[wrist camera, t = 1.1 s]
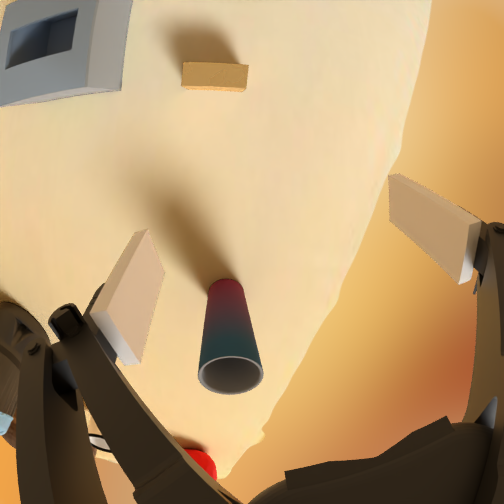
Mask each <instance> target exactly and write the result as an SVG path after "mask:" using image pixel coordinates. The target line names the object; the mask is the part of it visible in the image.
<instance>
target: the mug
mask: <svg viewBox="0 0 504 504" xmlns="http://www.w3.org/2000/svg"><path fill="white" fill-rule="evenodd" d="M88 433H89V438H90V442H91V446H92V447H94V448H96V449H99V450H101V451H105V452H109V453H112V452H111V450H110V448H109V447H108V445H107V443H106V441H105V440H104V438H103V436H102V434H101V433H100V431H99V429H98V427H97V425H96V423H95V421H94V419H93V417H92V416H91V419H90V423H89V427H88Z"/></svg>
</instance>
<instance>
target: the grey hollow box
mask: <svg viewBox="0 0 504 504" xmlns="http://www.w3.org/2000/svg"><path fill="white" fill-rule="evenodd" d="M132 2H133V1H132V0H17V1H15V2H13V3H11V4H9V5H7V6H6V9H5V13H4V17H3V21H2V26H1V30H0V107H6V106H14V105H21V104H30V103H40V102H45V101H50V100H55V99H60V98H66V97H72V96H78V95H85V94H93V93H101V92H110V91H121V85H122V73H123V62H124V53H125V45H126V38H127V31H128V24H129V18H130V12H131V7H132Z"/></svg>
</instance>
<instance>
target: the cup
mask: <svg viewBox="0 0 504 504" xmlns="http://www.w3.org/2000/svg"><path fill="white" fill-rule="evenodd" d="M263 374H264V373H263V369H262V365H261V361H260V357H259V353H258V349H257V345H256V340H255V336H254V332H253V328H252V324H251V320H250V316H249V312H248V307H247V303H246V299H245V295H244V291H243V288H242V286H241V285H240V284H239V283H238V282H236V281H235V280H232V279H221V280H218V281H216V282H215V283H213V284H212V285H211V287H210V289H209V293H208V300H207V307H206V314H205V322H204V329H203V337H202V345H201V353H200V361H199V370H198V379H199V381H200V383H201V384H202V385H203V386H204V387H205V388H206V389H208V390H210V391H212V392H215V393H219V394H226V395H233V394H240V393H244V392H247V391H250V390H252V389H253V388H255V387H256V386H257V385H259V383H260V382H261V381H262V379H263Z"/></svg>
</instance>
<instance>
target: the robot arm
mask: <svg viewBox="0 0 504 504" xmlns="http://www.w3.org/2000/svg"><path fill="white" fill-rule="evenodd" d="M388 180H389V213H390V214H389V215H390V222H392V223H393V224H394V225H395V226H396V227H398V229H400V230H401V231H402V232H403V233H404V234H405V235H407V236H408V237H409V238H410V239H411V240H412V241H414V243H416V244H417V245H418V246H419V247H420V248H421V249H422V250H423V251H424V252H425V253H426V254H428V255H429V256H430V257H431V258H432V259H433V260H434V261H435V262H436V263H437V264H438V265H439V266H440V267H441V268H442V269H443V270H444V271H445V272H446V273H447V274H448V275H449V276H451V278H453V280H455V282H456V283H457V284H458V285H459V284H461V283H464V282H466V281H469V280H471V275H472V271H473V267H474V268H475V269H476V270H477V271H478V272H479V273H478V277H477V281H476V285H475V289H474V292H473V294H475V293H476V291H477V330H476V346H475V357H474V367H473V375H472V382H471V389H470V395H469V400H468V406H467V410H466V413H465V416H464V418H463V420H462V422H459V423H452V424H451V423H450V421H449V420H448V418H447V416H445V417H443V418H441V419H439V420H437V421H435V422H433V423H431V424H429V425H427V426H425V427H423V428H421V429H418V430H416V431H414V432H412V433H411V434H409V435H408V436H407V437H405V438H404V439H402V440H401V441H400V442H398V443H397V444H395V445H394V446H392V447H391V448H390V449H388V450H387V451H385V452H384V453H382V454H380V455H379V456H377V457H374V458H368V459H359V460H347V461H328V462H325V463H320V464H316V465H312V466H308V467H304V468H298V469H294V470H289V471H285V478H286V479H285V480H283V481H281V482H278V483H276V484H274V485H272V486H271V487H269V488H267V489H266V490H264V491H263V492H261V493H260V494H258V495H257V496H256V497H255V498H254V499H253V500H251V501H250V502H249V503H248V504H504V224H502V223H499V222H493V223H490V224H486V223H485V222H483V221H482V220H480V219H479V218H477V217H476V216H474V215H472V214H471V213H470V212H468V211H466V210H465V209H463V208H462V207H460V206H458V205H455V204H453V203H452V202H451V201H449V200H447V199H445V198H444V197H442V196H440V195H439V194H437V193H435V192H433V191H432V190H430V189H428V188H426V187H424V186H422V185H420V184H419V183H417V182H415V181H413V180H411V179H409V178H407V177H405V176H403V175H401V174H394V175H388ZM164 275H165V271H164V269H163V266H162V264H161V261H160V259H159V256H158V254H157V251H156V249H155V246H154V244H153V241H152V239H151V236H150V234H149V231H148V229H146V230H142V231H138V232H135V233H134V235H133V236H132V238H131V240H130V241H129V243H128V245H127V246H126V248H125V250H124V251H123V253H122V255H121V256H120V258H119V260H118V261H117V263H116V265H115V267H114V268H113V270H112V272H111V274H110V276H109V277H108V279H107V281H106V283H103V284H102V285H101V286H100V287H99V288H98V289H97V290H96V292H95V294H94V296H93V299H91V301H90V303H89V305H88V307H87V309H86V311H85V313H84V314H83V316H82V315H81V313H80V312H79V310H78V308H77V307H76V305H75V304H72V303H69V304H65V305H63V306H61V307H59V308H58V309H57V310H56V311H54V312H53V314H52V315H51V316H50V318H49V320H48V324H49V326H50V327H51V329H52V330H53V332H54V333H55V335H56V336H57V337H58V339H59V340H60V341H59V342H57V343H55V344H52V345H51V344H50V341H49V338H48V336H47V334H46V332H45V331H44V329H43V328H42V327H41V325H40V324H39V323H38V322H37V321H36V320H35V319H34V318H33V317H32V316H31V315H30V314H29V313H28V312H26V311H25V310H23V309H22V308H20V307H19V306H17V305H15V304H12V303H8V302H1V303H0V435H4V434H5V433H6V432H7V430H8V428H9V426H10V423H11V421H12V420H13V416H14V413H15V411H16V408H17V411H16V459H17V474H18V485H19V493H20V500H21V504H108V503H107V500H106V497H105V494H104V491H103V488H102V485H101V481H100V478H99V474H98V471H97V467H96V464H95V459H94V455H93V451H92V447H91V442H90V438H89V433H88V428H87V423H86V417H85V411H84V405H83V399H84V401H85V403H86V405H87V407H88V409H89V412H90V414H91V416H92V417H93V419H94V421H95V423H96V425H97V427H98V429H99V431H100V433H101V434H102V436H103V438H104V440H105V441H106V443H107V445H108V447H109V448H110V450H111V452H112V453H113V455H114V457H115V458H116V460H117V461H118V463H119V464H120V466H121V468H122V469H123V471H124V472H125V474H126V475H127V477H128V478H129V480H130V481H131V482H132V484H133V486H134V487H135V491H134V492H133V496H134V499H135V501H136V502H137V504H243V503H241V502H240V501H239V500H238V499H237V498H235V497H234V496H233V495H232V494H230V493H229V492H228V491H227V490H225V489H224V488H223V487H222V486H221V485H220V484H218V483H217V482H216V481H215V480H214V479H213V478H212V477H211V476H210V475H209V474H208V473H207V472H206V471H205V470H204V469H203V468H202V467H201V466H200V465H199V464H198V463H197V462H196V461H195V460H194V459H193V458H192V457H191V456H190V455H189V454H188V453H187V452H186V451H185V450H184V449H183V448H182V447H181V446H180V445H179V444H178V443H177V441H176V440H175V439H174V438H173V437H172V436H171V435H170V434H169V432H168V431H167V430H166V429H165V428H164V427H163V426H162V424H161V423H160V422H159V421H158V420H157V418H156V417H155V416H154V415H153V414H152V412H151V411H150V410H149V409H148V407H147V406H146V405H145V404H144V402H143V401H142V400H141V398H140V397H139V396H138V394H137V393H136V392H135V390H134V389H133V388H132V386H131V385H130V384H129V382H128V381H127V380H126V378H125V377H124V375H123V374H122V372H121V371H120V370H119V368H118V367H117V366H116V364H115V361H116V358H117V356H118V357H119V359H120V360H121V362H122V363H123V364H124V365H134V364H141V360H142V356H143V352H144V348H145V344H146V340H147V336H148V332H149V328H150V324H151V321H152V317H153V313H154V310H155V306H156V302H157V299H158V295H159V292H160V288H161V285H162V282H163V278H164ZM82 397H83V398H82Z"/></svg>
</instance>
